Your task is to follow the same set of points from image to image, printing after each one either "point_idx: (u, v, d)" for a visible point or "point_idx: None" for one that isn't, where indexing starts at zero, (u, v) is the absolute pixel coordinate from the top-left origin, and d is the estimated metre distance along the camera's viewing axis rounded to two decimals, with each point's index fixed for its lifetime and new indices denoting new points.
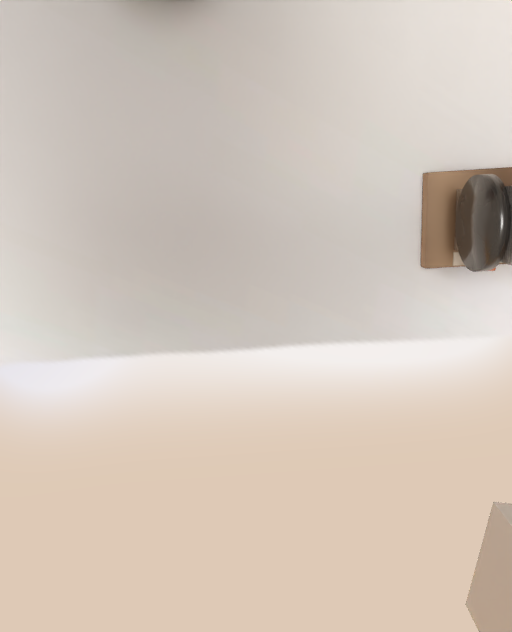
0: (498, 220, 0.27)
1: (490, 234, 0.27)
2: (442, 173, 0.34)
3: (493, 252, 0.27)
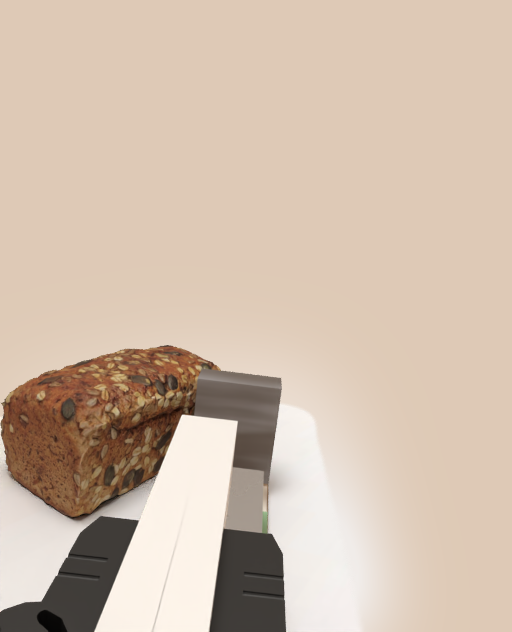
0: None
1: None
2: None
3: None
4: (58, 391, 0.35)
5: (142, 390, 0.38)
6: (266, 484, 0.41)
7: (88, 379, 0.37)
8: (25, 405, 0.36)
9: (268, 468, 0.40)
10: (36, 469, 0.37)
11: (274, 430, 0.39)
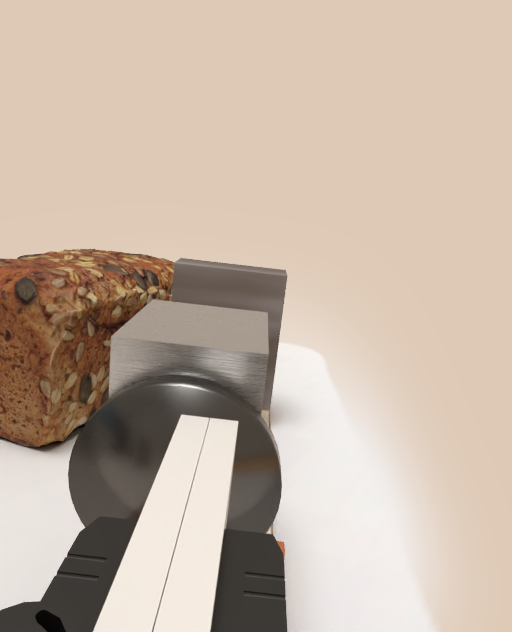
0: (170, 384, 0.12)
1: (199, 412, 0.13)
2: None
3: (238, 405, 0.13)
4: (6, 270, 0.25)
5: (119, 279, 0.29)
6: (267, 410, 0.31)
7: (46, 261, 0.27)
8: None
9: (270, 388, 0.30)
10: None
11: (277, 334, 0.30)
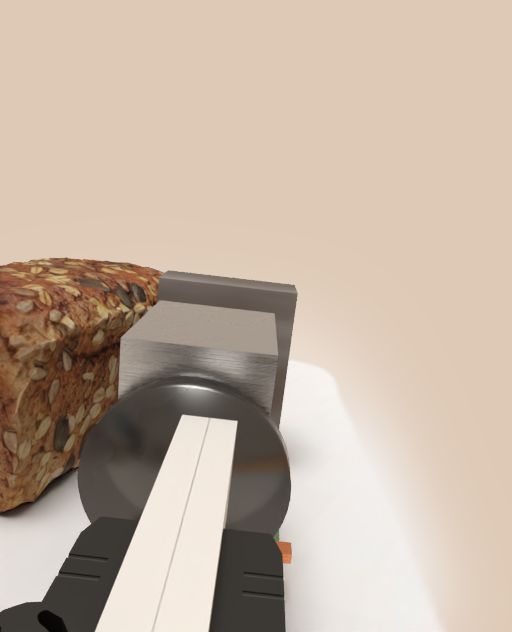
0: (180, 385, 0.12)
1: (209, 414, 0.13)
2: None
3: (248, 406, 0.13)
4: None
5: (100, 297, 0.24)
6: None
7: (8, 278, 0.22)
8: None
9: None
10: None
11: (285, 364, 0.24)
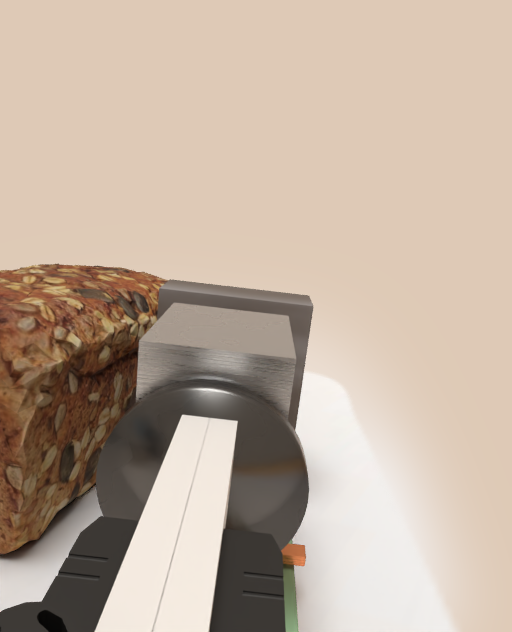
0: (199, 388, 0.12)
1: (227, 417, 0.13)
2: None
3: (266, 409, 0.13)
4: None
5: (104, 309, 0.22)
6: None
7: (3, 291, 0.19)
8: None
9: None
10: None
11: (299, 384, 0.22)
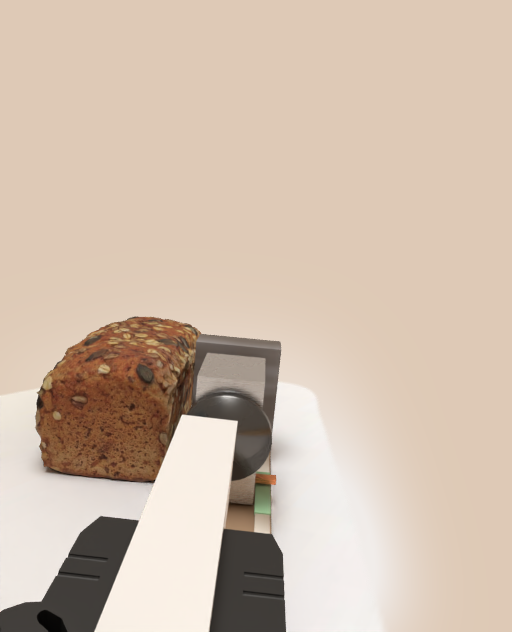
0: (224, 395, 0.30)
1: (236, 407, 0.30)
2: None
3: (252, 404, 0.30)
4: (122, 361, 0.34)
5: (177, 350, 0.40)
6: None
7: (133, 347, 0.37)
8: (81, 385, 0.34)
9: None
10: (98, 448, 0.35)
11: (275, 393, 0.39)
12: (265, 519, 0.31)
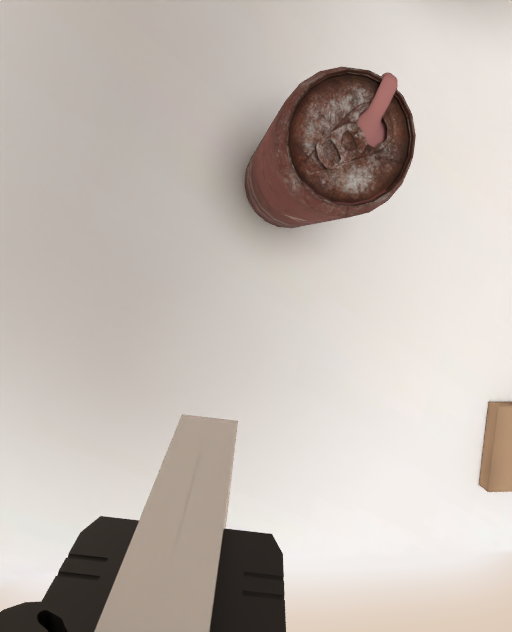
0: None
1: None
2: (510, 408, 0.36)
3: None
4: None
5: None
6: None
7: None
8: None
9: None
10: None
11: None
12: None
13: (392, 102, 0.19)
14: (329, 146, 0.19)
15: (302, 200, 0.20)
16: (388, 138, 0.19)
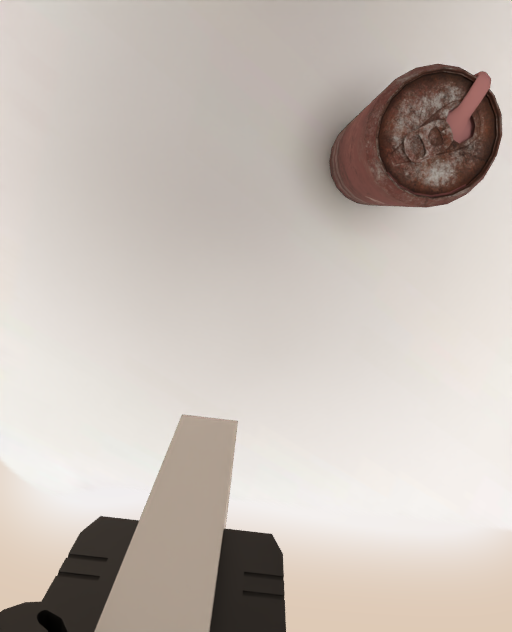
0: None
1: None
2: None
3: None
4: None
5: None
6: None
7: None
8: None
9: None
10: None
11: None
12: None
13: (483, 101, 0.20)
14: (416, 140, 0.21)
15: (384, 188, 0.22)
16: (474, 135, 0.21)
